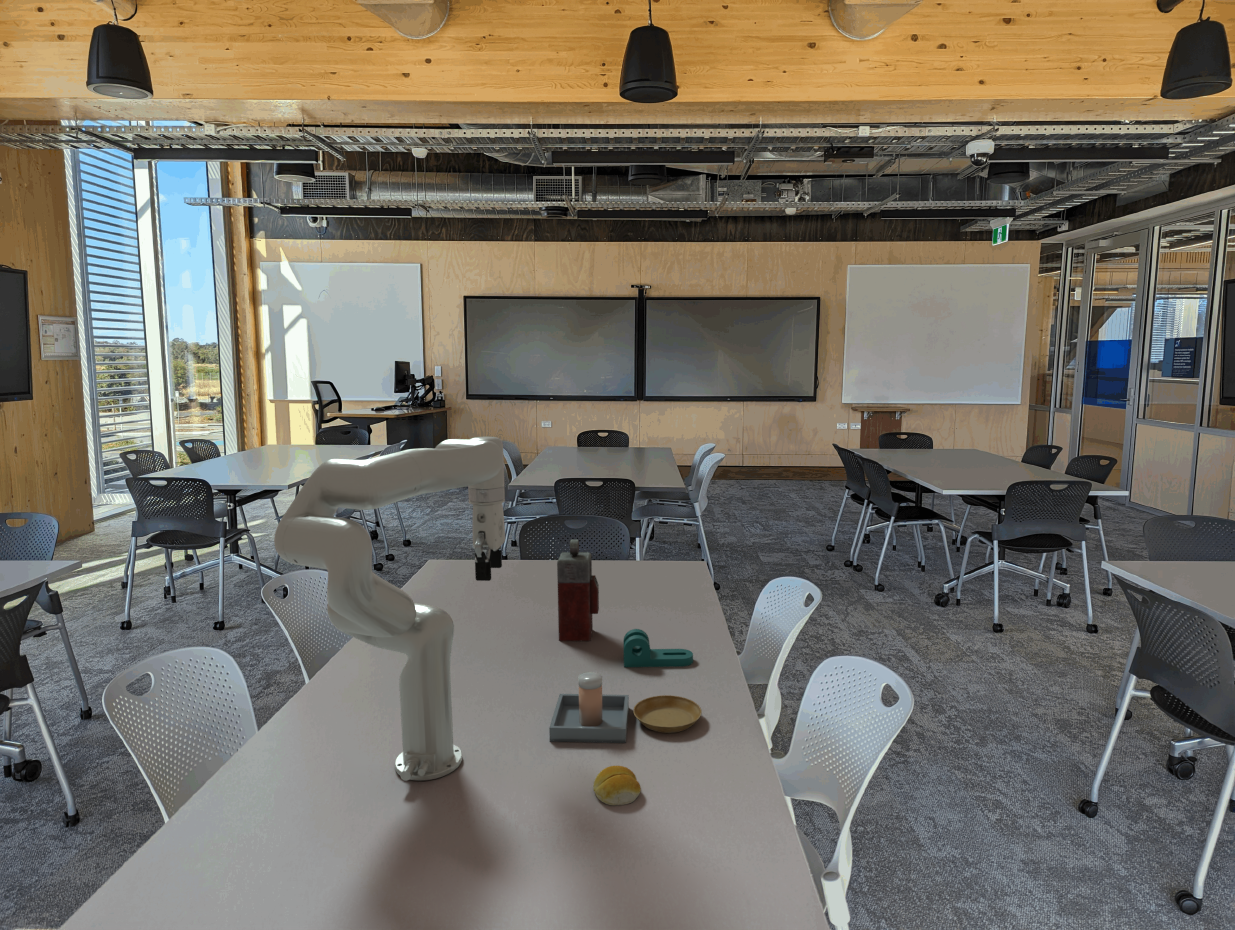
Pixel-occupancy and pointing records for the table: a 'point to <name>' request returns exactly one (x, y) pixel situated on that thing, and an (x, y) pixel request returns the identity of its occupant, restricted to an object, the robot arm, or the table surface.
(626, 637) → the bracket
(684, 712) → the plant saucer
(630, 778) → the bread roll
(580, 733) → the slate tray
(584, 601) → the red gray rectangular canister
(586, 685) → the shaker
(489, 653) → the table surface
